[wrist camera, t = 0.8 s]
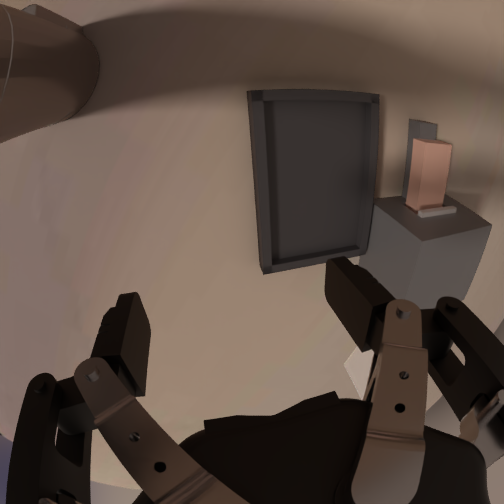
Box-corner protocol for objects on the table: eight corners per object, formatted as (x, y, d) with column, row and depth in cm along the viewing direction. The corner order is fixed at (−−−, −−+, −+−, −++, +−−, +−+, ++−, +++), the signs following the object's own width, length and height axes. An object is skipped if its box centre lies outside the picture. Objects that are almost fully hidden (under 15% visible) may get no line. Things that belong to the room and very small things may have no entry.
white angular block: (418, 287, 42) (452, 326, 34) (390, 372, 58) (408, 403, 50) (348, 315, 41) (379, 365, 33) (338, 394, 57) (354, 429, 49)
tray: (246, 91, 22) (250, 90, 20) (369, 93, 24) (379, 94, 22) (259, 265, 32) (263, 274, 31) (358, 246, 34) (365, 254, 32)
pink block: (413, 138, 25) (425, 142, 23) (440, 140, 26) (451, 145, 24) (397, 245, 33) (406, 253, 31) (423, 239, 33) (432, 247, 32)
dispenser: (373, 115, 25) (440, 134, 17) (451, 125, 27) (508, 147, 19) (356, 279, 37) (393, 329, 29) (425, 261, 39) (463, 299, 31)
